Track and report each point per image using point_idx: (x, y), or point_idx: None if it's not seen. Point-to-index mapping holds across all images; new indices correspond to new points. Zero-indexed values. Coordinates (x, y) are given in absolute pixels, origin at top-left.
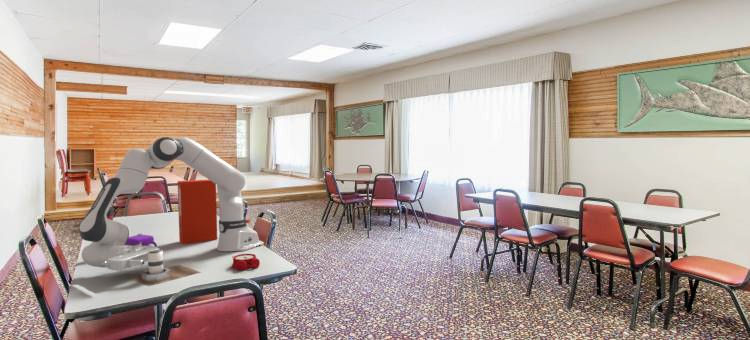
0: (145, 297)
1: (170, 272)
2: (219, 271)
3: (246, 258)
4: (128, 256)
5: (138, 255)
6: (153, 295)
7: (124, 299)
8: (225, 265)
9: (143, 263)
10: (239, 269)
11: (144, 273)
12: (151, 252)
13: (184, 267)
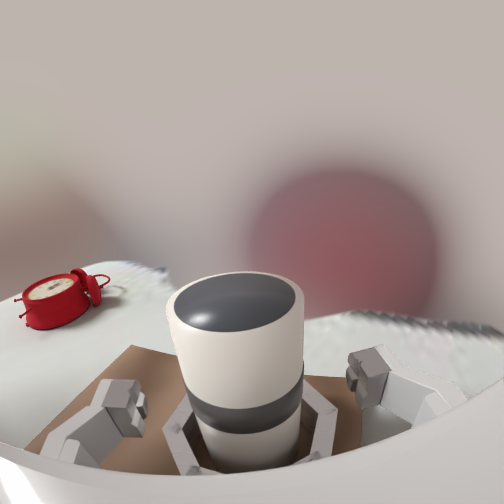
0: (405, 332)
1: (138, 447)
2: (100, 331)
3: (60, 284)
4: (458, 468)
5: (324, 458)
6: (380, 330)
7: (460, 354)
8: (39, 343)
9: (352, 370)
10: (100, 299)
11: (320, 450)
12: (271, 299)
13: (54, 427)
